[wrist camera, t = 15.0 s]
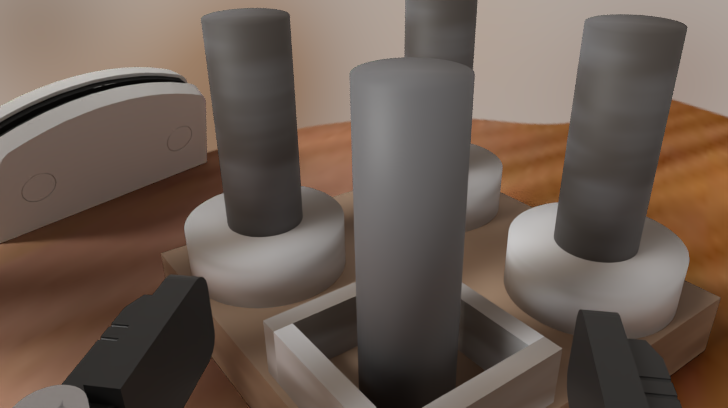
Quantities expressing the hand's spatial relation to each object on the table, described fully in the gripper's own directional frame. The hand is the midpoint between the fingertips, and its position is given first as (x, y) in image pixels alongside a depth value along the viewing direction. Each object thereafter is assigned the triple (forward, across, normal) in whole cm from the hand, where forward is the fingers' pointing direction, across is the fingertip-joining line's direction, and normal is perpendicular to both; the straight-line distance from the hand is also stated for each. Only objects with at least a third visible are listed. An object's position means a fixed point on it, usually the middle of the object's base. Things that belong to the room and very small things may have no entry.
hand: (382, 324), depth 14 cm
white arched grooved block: (+26, +24, +12) cm, 37 cm away
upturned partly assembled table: (+15, 0, +12) cm, 19 cm away
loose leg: (+7, 0, +8) cm, 11 cm away
